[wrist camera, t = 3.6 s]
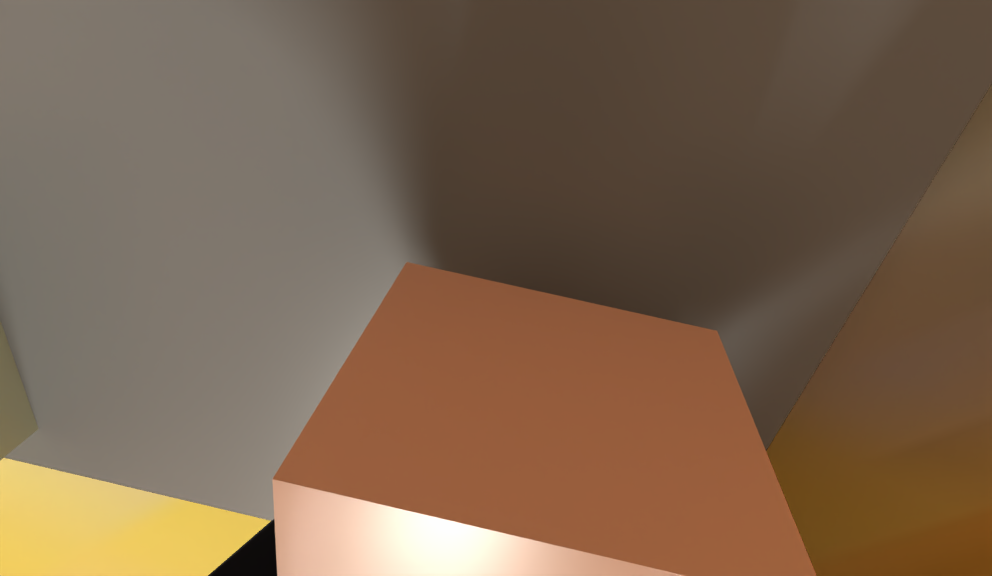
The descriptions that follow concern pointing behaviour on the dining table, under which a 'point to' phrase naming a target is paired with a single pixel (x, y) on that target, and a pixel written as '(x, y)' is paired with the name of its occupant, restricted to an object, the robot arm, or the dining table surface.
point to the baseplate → (435, 192)
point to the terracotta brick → (530, 447)
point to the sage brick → (12, 403)
